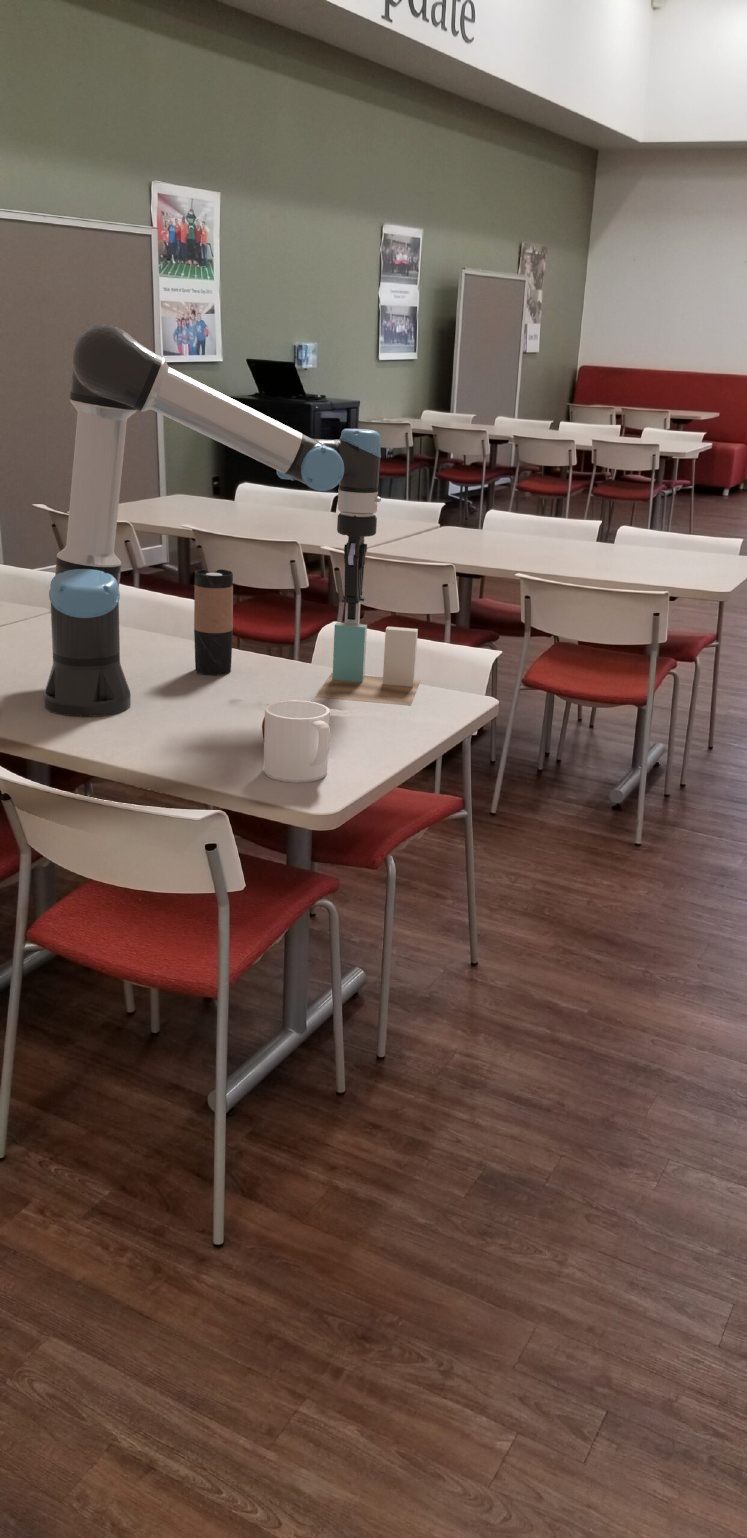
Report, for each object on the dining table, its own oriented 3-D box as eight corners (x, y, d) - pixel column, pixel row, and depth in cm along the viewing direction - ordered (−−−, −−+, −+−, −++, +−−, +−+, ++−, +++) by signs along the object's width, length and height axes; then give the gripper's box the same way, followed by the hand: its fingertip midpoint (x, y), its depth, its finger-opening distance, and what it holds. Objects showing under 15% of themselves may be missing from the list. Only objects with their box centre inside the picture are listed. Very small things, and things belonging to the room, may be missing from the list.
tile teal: (362, 682, 234) (365, 627, 231) (332, 679, 235) (334, 624, 231) (364, 679, 237) (367, 624, 233) (334, 676, 237) (336, 622, 234)
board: (410, 711, 222) (410, 705, 221) (315, 702, 224) (315, 696, 223) (420, 686, 238) (420, 680, 238) (331, 678, 240) (331, 672, 240)
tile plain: (412, 686, 233) (416, 631, 230) (382, 684, 234) (385, 629, 230) (414, 683, 235) (417, 628, 232) (384, 680, 236) (387, 626, 232)
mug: (251, 768, 188) (252, 705, 185) (302, 757, 194) (304, 696, 191) (297, 792, 179) (300, 727, 176) (350, 780, 185) (353, 717, 182)
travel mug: (216, 677, 236) (216, 577, 230) (186, 670, 240) (186, 571, 233) (239, 670, 243) (241, 572, 236) (210, 663, 246) (210, 567, 240)
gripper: (372, 519, 221) (365, 643, 229) (381, 510, 233) (374, 628, 241) (332, 516, 222) (327, 640, 229) (343, 507, 234) (338, 625, 242)
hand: (351, 634), depth 235 cm, fingers closed
